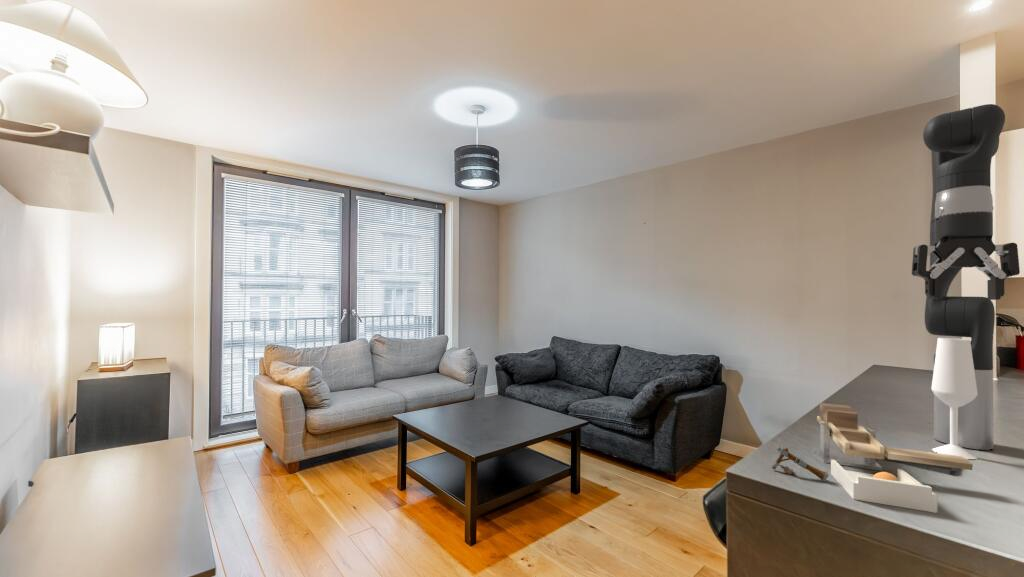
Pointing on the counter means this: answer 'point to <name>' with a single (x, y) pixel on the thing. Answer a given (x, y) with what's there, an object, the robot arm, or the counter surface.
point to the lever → (866, 445)
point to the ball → (885, 476)
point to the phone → (927, 466)
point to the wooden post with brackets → (799, 462)
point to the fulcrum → (841, 457)
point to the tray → (886, 489)
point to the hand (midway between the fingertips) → (963, 299)
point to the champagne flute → (954, 385)
